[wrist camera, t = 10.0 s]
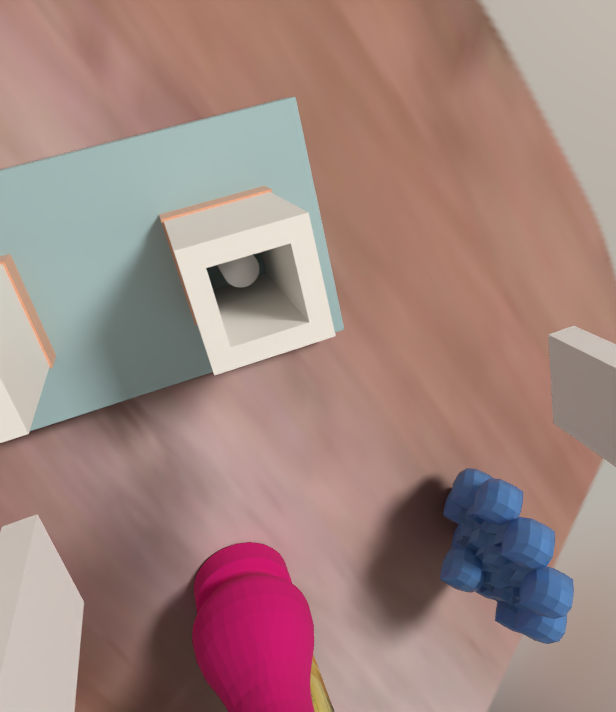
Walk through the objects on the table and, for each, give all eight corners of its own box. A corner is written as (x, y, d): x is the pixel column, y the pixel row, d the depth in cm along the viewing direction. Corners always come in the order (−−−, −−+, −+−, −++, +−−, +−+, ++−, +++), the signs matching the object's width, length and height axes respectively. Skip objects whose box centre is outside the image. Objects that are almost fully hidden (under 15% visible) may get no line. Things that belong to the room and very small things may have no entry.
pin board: (332, 318, 34) (371, 356, 29) (-61, 444, 31) (-101, 513, 25) (285, 97, 29) (320, 93, 24) (-195, 218, 25) (-280, 245, 20)
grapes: (383, 453, 39) (481, 581, 28) (475, 417, 40) (602, 527, 29) (413, 577, 44) (505, 727, 33) (493, 543, 45) (608, 677, 34)
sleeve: (289, 285, 31) (338, 337, 23) (192, 315, 30) (212, 378, 23) (264, 185, 28) (310, 209, 21) (159, 214, 27) (170, 248, 20)
